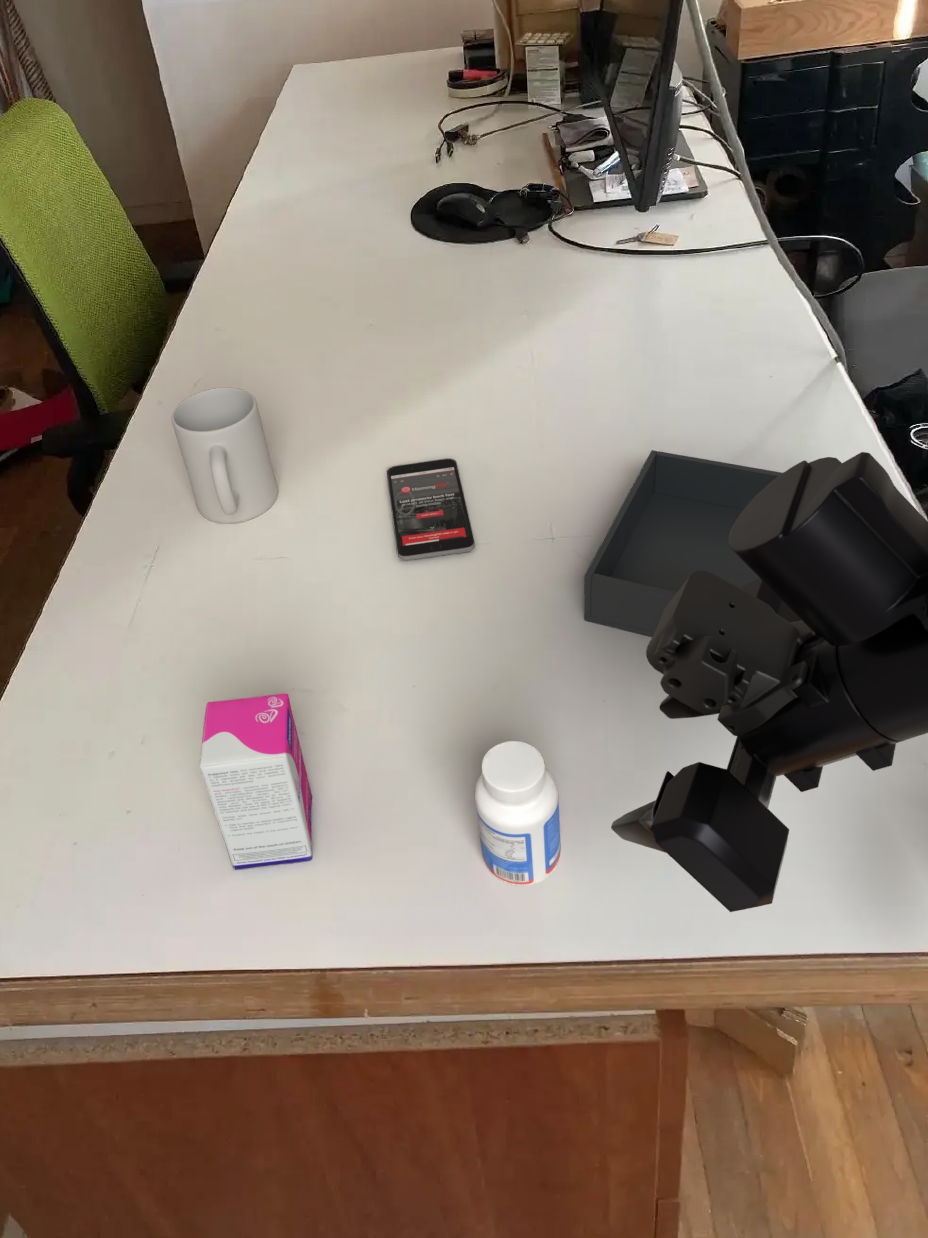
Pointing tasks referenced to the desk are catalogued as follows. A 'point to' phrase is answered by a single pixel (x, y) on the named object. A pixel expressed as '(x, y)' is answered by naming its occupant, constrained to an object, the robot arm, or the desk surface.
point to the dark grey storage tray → (669, 538)
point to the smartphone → (429, 510)
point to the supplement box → (257, 780)
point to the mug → (225, 454)
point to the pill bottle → (518, 814)
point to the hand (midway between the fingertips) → (642, 768)
